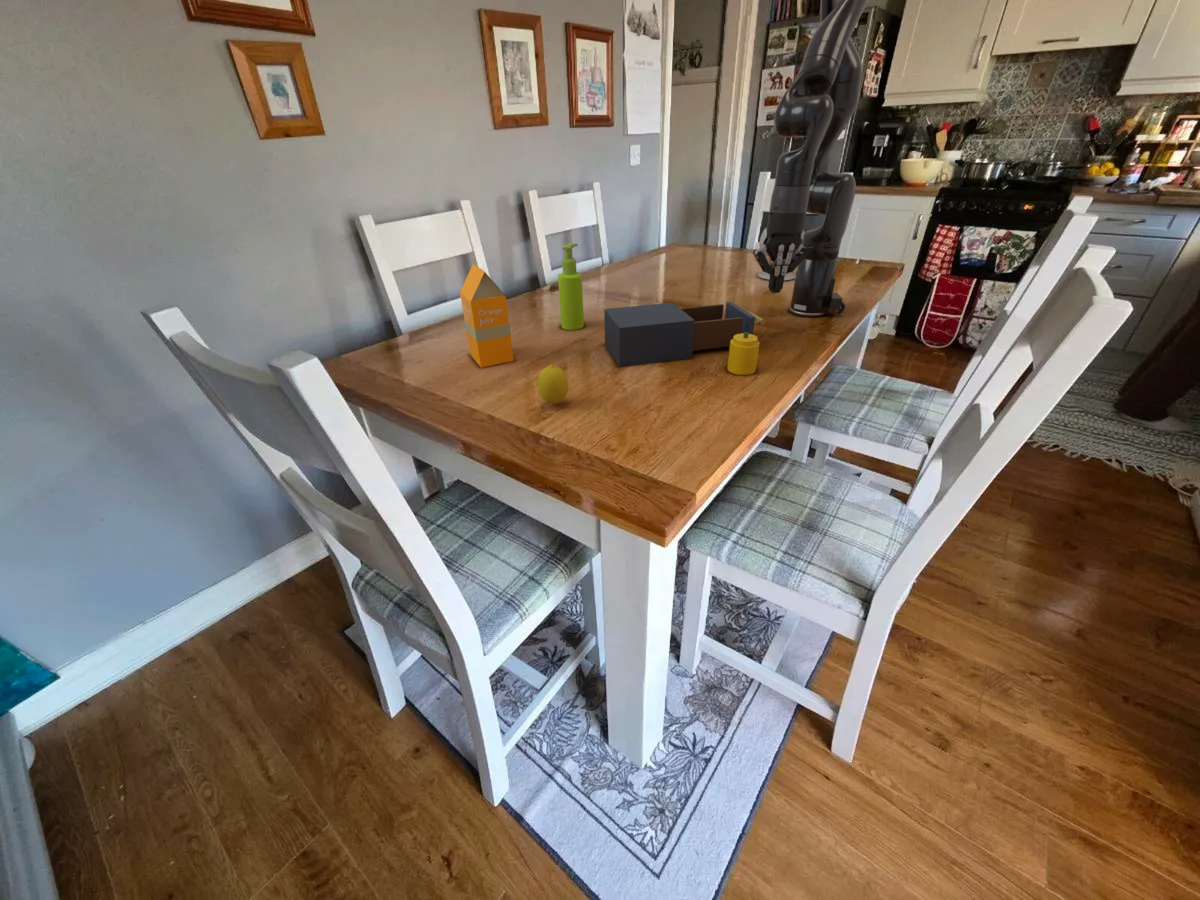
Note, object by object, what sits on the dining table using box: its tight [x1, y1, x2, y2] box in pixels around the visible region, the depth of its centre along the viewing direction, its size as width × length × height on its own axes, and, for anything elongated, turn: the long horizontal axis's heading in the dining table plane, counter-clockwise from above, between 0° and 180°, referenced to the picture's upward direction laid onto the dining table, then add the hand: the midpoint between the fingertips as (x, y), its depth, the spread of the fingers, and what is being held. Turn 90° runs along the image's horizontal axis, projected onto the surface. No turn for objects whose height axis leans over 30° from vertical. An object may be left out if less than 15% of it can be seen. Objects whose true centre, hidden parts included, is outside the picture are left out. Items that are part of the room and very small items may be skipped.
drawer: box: [679, 301, 766, 352], centre depth 118 cm, size 20×12×7 cm, turn 103°
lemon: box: [537, 364, 569, 406], centre depth 94 cm, size 6×6×8 cm
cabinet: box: [603, 302, 695, 367], centre depth 115 cm, size 17×14×9 cm
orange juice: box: [459, 263, 514, 368], centre depth 111 cm, size 8×9×20 cm
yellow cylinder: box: [726, 332, 761, 376], centre depth 105 cm, size 6×6×8 cm
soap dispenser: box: [557, 243, 585, 331], centre depth 129 cm, size 6×7×20 cm
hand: (774, 291), depth 117 cm, fingers closed
